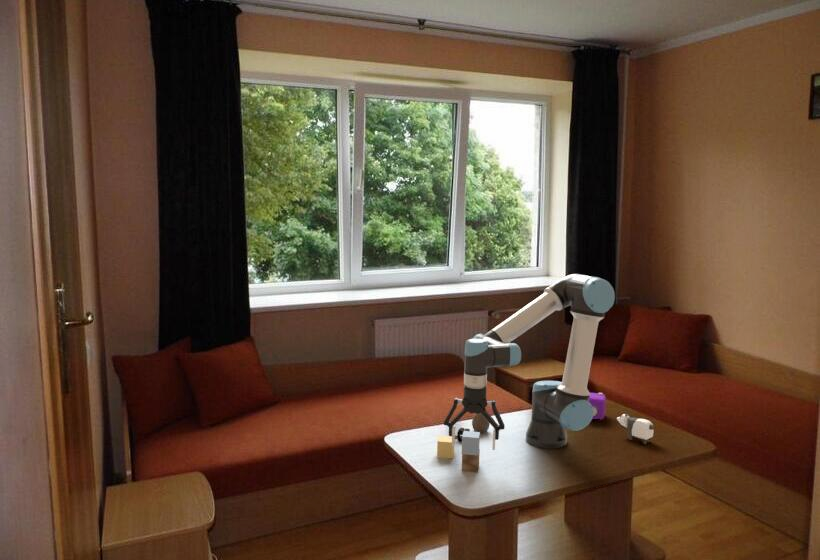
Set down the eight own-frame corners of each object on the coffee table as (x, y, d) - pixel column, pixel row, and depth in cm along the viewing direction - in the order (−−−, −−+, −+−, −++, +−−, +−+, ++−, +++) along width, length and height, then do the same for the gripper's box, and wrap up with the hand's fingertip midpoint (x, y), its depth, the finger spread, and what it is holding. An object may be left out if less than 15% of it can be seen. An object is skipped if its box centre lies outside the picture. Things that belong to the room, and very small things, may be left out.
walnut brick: (479, 465, 210) (479, 448, 210) (478, 472, 205) (478, 455, 204) (463, 464, 211) (463, 447, 210) (461, 470, 206) (462, 453, 205)
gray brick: (479, 449, 209) (479, 432, 209) (478, 455, 204) (478, 438, 203) (463, 447, 210) (463, 430, 210) (461, 453, 205) (462, 436, 204)
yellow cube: (454, 452, 221) (454, 436, 220) (452, 459, 215) (453, 442, 215) (438, 451, 222) (439, 435, 221) (437, 457, 216) (437, 441, 216)
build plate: (482, 440, 234) (482, 429, 234) (476, 447, 227) (476, 435, 227) (451, 435, 239) (451, 423, 238) (444, 441, 232) (445, 430, 232)
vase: (492, 430, 243) (493, 409, 242) (484, 435, 238) (485, 414, 236) (476, 427, 247) (477, 405, 246) (468, 432, 241) (469, 410, 240)
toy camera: (581, 422, 255) (582, 399, 253) (578, 411, 268) (579, 389, 267) (608, 424, 253) (610, 401, 252) (603, 413, 266) (605, 391, 265)
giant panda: (655, 443, 234) (657, 418, 233) (648, 446, 230) (650, 422, 229) (619, 432, 244) (621, 409, 243) (612, 435, 241) (613, 411, 239)
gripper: (436, 386, 203) (435, 448, 206) (513, 391, 199) (510, 454, 202) (439, 380, 210) (437, 439, 213) (513, 384, 206) (510, 445, 209)
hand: (473, 447), depth 207 cm, fingers open, 13 cm apart
